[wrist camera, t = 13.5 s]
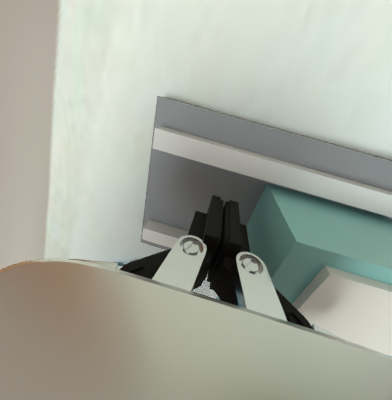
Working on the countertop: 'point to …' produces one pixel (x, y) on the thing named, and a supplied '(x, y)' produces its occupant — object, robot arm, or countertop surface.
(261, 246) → the block
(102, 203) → the countertop surface
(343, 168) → the rail base
